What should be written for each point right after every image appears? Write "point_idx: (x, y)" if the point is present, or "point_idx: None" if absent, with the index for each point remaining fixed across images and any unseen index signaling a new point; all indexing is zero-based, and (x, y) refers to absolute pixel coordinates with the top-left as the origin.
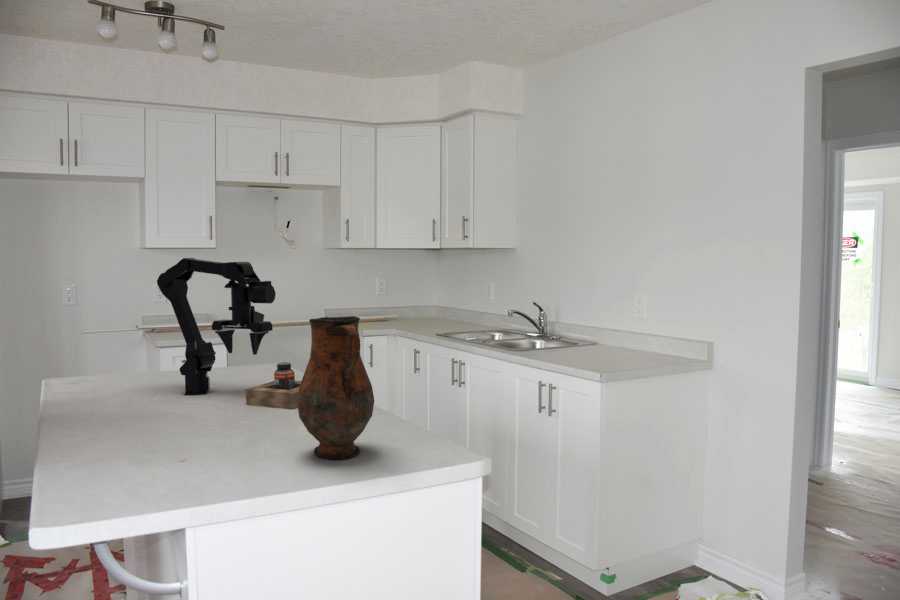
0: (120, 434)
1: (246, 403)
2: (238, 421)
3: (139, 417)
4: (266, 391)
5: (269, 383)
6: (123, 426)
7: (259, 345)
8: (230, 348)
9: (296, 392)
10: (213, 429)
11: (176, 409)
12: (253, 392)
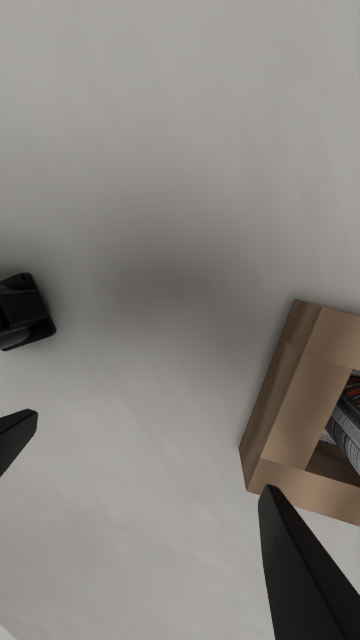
0: (107, 635)
1: (240, 451)
2: None
3: (60, 546)
4: (333, 516)
5: (303, 397)
6: (77, 597)
7: (355, 591)
8: (3, 457)
9: None
10: (256, 629)
11: (89, 491)
12: None
